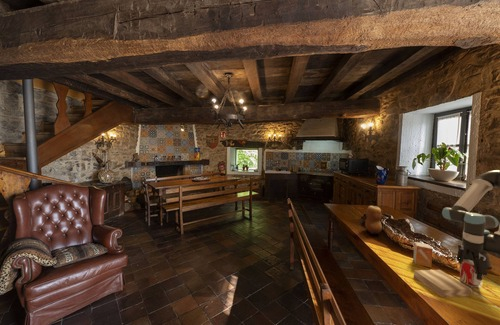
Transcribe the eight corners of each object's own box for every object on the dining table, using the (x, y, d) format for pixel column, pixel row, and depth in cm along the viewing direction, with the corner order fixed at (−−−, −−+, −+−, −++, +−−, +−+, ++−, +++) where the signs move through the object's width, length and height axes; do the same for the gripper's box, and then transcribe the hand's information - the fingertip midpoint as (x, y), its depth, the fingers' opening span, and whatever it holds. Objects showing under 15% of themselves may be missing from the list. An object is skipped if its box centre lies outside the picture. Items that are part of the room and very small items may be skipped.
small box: (415, 264, 127) (416, 245, 126) (413, 259, 133) (414, 241, 132) (431, 268, 123) (432, 248, 122) (428, 263, 129) (429, 244, 128)
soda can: (458, 278, 114) (460, 257, 113) (477, 283, 109) (478, 261, 108) (461, 284, 108) (463, 262, 107) (480, 290, 104) (482, 267, 103)
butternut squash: (385, 236, 169) (386, 208, 168) (369, 236, 170) (371, 208, 168) (375, 229, 183) (376, 204, 182) (361, 229, 184) (362, 204, 182)
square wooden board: (439, 276, 115) (439, 269, 115) (470, 296, 99) (471, 288, 99) (414, 276, 115) (414, 270, 114) (442, 297, 99) (442, 289, 98)
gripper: (449, 232, 117) (446, 268, 119) (484, 249, 98) (481, 291, 99) (462, 233, 117) (460, 269, 118) (501, 250, 97) (497, 293, 98)
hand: (469, 279), depth 108 cm, fingers closed on soda can, 7 cm apart
